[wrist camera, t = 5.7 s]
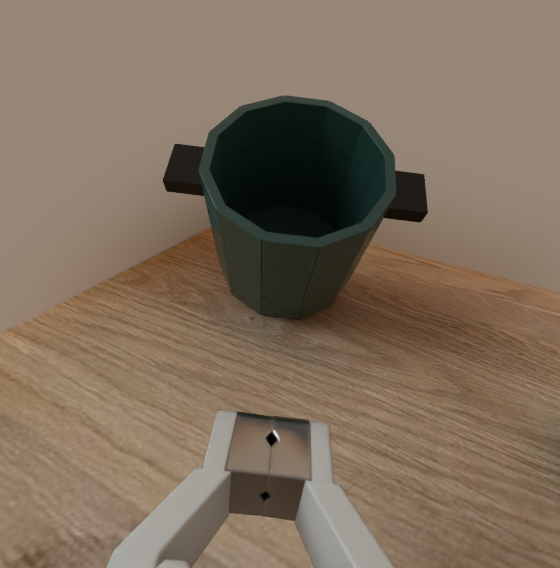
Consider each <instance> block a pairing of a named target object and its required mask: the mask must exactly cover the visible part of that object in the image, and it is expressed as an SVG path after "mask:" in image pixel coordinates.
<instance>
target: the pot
mask: <svg viewBox="0 0 560 568" xmlns="http://www.w3.org/2000/svg"><path fill="white" fill-rule="evenodd" d="M163 183H164V185H165V188H166V191H168V192H177V193H184V194H193V195H200V196H205V201H206V206H207V210H208V214H209V219H210V223H211V228H212V232H213V236H214V241H215V245H216V250H217V254H218V258H219V263H220V266H221V269H222V271H223V274H224V276H225V278H226V281H227V283H228V286H229V288H230V290H231V293H232V294H233V295H234V296H235V297H237V298H238V299H240V300H241V301H242V302H244V303H245V304H247V305H248V306H249V307H251V308H252V309H253V310H255V311H256V312H258V313H259V314H261V315H268V316H276V317H284V318H292V319H297V318H298V319H299V318H302V317H304V316H307V315H309V314H311V313H314V312H316V311H319V310H321V309H324V308H326V307H329V306H330V305H331V304H332V303H333V301H334V300H335V299H336V297H337V296H338V295H339V293H340V292H341V290H342V289H343V288H344V286H345V285H346V283H347V282H348V281H349V279H350V277H351V275H352V273H353V272H354V270H355V268H356V266H357V265H358V263H359V261H360V259H361V257H362V256H363V254H364V252H365V250H366V248H367V247H368V245H369V243H370V241H371V239H372V237H373V236H374V234H375V232H376V230H377V229H378V227H379V225H380V223H381V221H382V220H383V218H388V219H396V220H405V221H413V222H421V221H422V220H423V219H424V217H425V216H426V215H427V213H428V210H427V199H426V189H425V179H424V174H418V173H409V172H401V171H395V158H394V154H393V153H392V151H391V150H390V149H389V147H388V146H387V145H386V143H385V142H384V141H383V139H382V138H381V137H380V135H379V134H378V133H377V131H376V130H375V129H374V127H373V126H372V125H371V123H369V122H368V121H367V120H365V119H363V118H361V117H359V116H357V115H355V114H354V113H352V112H350V111H348V110H346V109H344V108H342V107H340V106H338V105H336V104H335V103H333V102H329V101H326V100H318V99H310V98H302V97H294V96H279V97H275V98H271V99H267V100H263V101H259V102H255V103H251V104H247V105H243V106H240V107H239V108H238V109H236V110H235V111H234V112H233V113H231V114H230V115H229V116H228V117H227V118H225V119H224V120H223V121H222V122H221V123H219V124H218V125H217V126H216V127H215V128H214V129H212V130H211V131H210V133H209V134H208V138H207V141H206V145H205V147H198V146H190V145H181V144H175V145H174V148H173V151H172V154H171V157H170V160H169V163H168V166H167V169H166V172H165V175H164V178H163Z"/></svg>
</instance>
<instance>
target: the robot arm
mask: <svg viewBox="0 0 560 568" xmlns="http://www.w3.org/2000/svg"><path fill="white" fill-rule="evenodd" d="M229 513H235V514H246V515H257V516H266V517H272V518H279V519H286V520H292V521H295V525H296V527H297V529H298V532H299V534H300V536H301V538H302V541H303V543H304V545H305V548H306V550H307V552H308V554H309V557H310V559H311V561H312V563H313V566H314V568H395V567H394V565H393V564H392V562H391V561H390V559H389V558H388V556H387V555H386V553H385V552H384V550H383V549H382V547H381V546H380V544H379V543H378V541H377V539H376V538H375V536H374V535H373V533H372V532H371V530H370V529H369V527H368V526H367V524H366V523H365V521H364V520H363V518H362V517H361V515H360V514H359V512H358V511H357V509H356V508H355V506H354V505H353V503H352V502H351V500H350V499H349V497H348V496H347V494H346V493H345V491H344V490H343V488H342V487H341V485H339V484H334V473H333V462H332V450H331V438H330V426H329V424H328V423H327V422H319V421H309V420H305V419H296V418H287V417H277V416H273V417H270V416H264V415H257V414H250V413H244V412H237V411H229V410H221V409H219V411H218V413H217V415H216V419H215V422H214V426H213V430H212V434H211V437H210V441H209V445H208V449H207V452H206V456H205V460H204V464H203V467H202V468H200V467H196V468H195V469H194V470H193V471H192V472H191V473H190V474H189V475H188V476H187V477H186V478H185V479H184V480H183V481H182V482H181V483H180V484H179V485H178V486H177V487H176V488H175V489H174V490H173V491H172V492H171V493H170V494H169V495H168V496H167V497H166V498H165V499H164V500H163V501H162V502H161V504H160V505H159V506H158V507H157V508H156V509H155V510H154V511H153V512H152V513H151V514H150V515H149V516H148V517H147V518H146V519H145V520H144V521H143V522H142V523H141V524H140V525H139V526H138V527H137V528H136V529H135V530H134V531H133V532H132V533H131V534H130V535H129V536H128V537H127V538H126V539H125V540H124V541H123V542H122V543H121V544H120V545H119V546H118V547H117V548H116V549H115V550H114V552H113V554H112V556H111V559H110V561H109V564H108V566H107V568H192V566H193V565H194V563H195V562H196V561H197V559H198V558H199V556H200V555H201V554H202V552H203V551H204V549H205V548H206V547H207V545H208V544H209V542H210V541H211V540H212V538H213V537H214V535H215V534H216V533H217V531H218V530H219V528H220V527H221V526H222V524H223V523H224V521H225V520H226V519H227V517H228V516H229Z"/></svg>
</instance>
